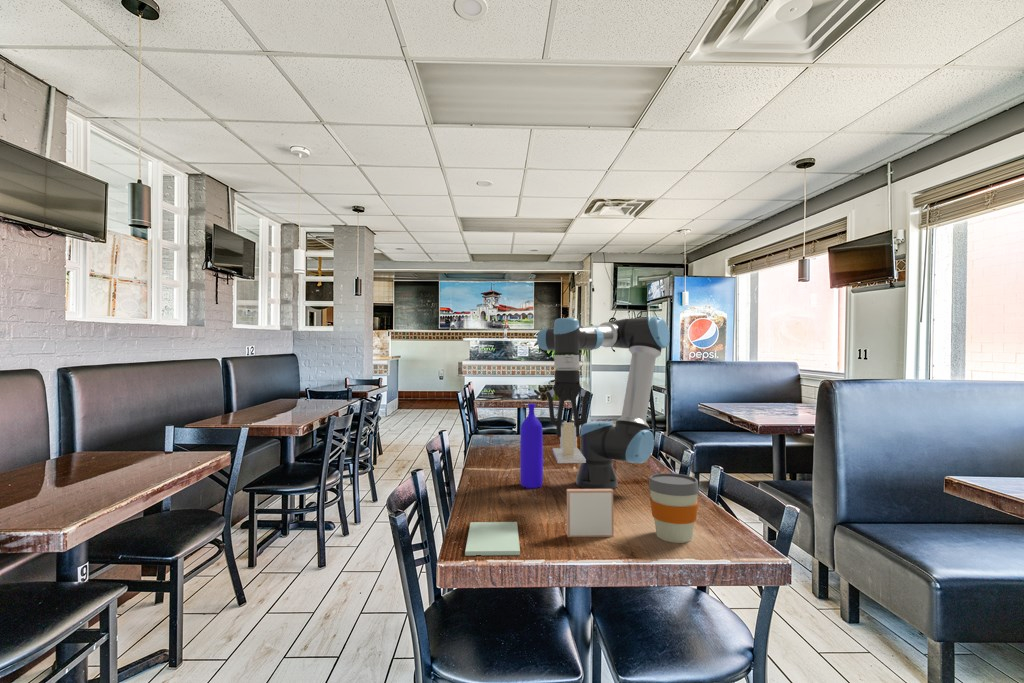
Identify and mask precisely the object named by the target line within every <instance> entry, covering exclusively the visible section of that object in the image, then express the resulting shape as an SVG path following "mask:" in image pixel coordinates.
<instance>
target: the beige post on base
mask: <svg viewBox="0 0 1024 683" xmlns="http://www.w3.org/2000/svg"><path fill="white" fill-rule="evenodd" d="M561 425H562V426H563V439H564V449H561V447H555V448H554V447H552V454H553V455H554V458H555V460H556V462H557V464H581V463H586V459H585V457H584V456H583V455H582V453H581V449H579V448H578V447H576V449H574V430H573V425H574V422H561Z"/></svg>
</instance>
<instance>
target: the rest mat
mask: <svg viewBox="0 0 1024 683" xmlns="http://www.w3.org/2000/svg"><path fill="white" fill-rule="evenodd" d="M519 538H520V537H519V528H518V521H493V522H492V521H484V522H482V521H475V522H473V521H471V522H470V523H469V529H468V534H467V539H466V545H465V551H464V556H465V557H466V556H472V557H473V556H475V557H477V556H476V555H481V556H521V549H520V548H521V547H520V546H521V545H520V539H519Z"/></svg>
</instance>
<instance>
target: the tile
mask: <svg viewBox="0 0 1024 683" xmlns="http://www.w3.org/2000/svg"><path fill="white" fill-rule="evenodd" d="M566 536H567V538H614V537H615V536H614V489H585V488H566Z"/></svg>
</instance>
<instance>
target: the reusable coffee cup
mask: <svg viewBox="0 0 1024 683" xmlns="http://www.w3.org/2000/svg"><path fill="white" fill-rule="evenodd" d="M648 489H649V490H650V498H649V503H650V508H651V509H650V510H651V516H652V518H653V519H654V520H653V521H654V527H655V535H656V537H657V538H658V539H661V540H662V541H665V542H667V543H668V542H669V543H676V544H677V543H678V544H683V543H684V544H685V543H689V542H692V540H693V536H694V527H695V522H696V521H697V517H698V508H699V502H698V494H699V492H700V487H699V480H698V479H697V478H696V477H694V476H690V475H688V474H687V475H686V474H681V473H671V472H662V473H655V474H652V475H650V476H649V483H648Z"/></svg>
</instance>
